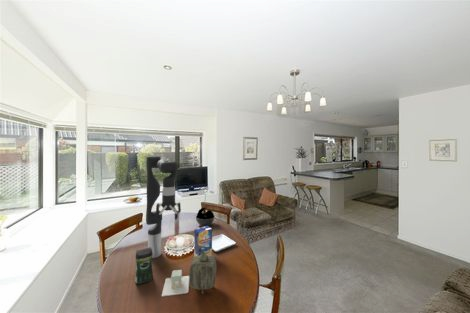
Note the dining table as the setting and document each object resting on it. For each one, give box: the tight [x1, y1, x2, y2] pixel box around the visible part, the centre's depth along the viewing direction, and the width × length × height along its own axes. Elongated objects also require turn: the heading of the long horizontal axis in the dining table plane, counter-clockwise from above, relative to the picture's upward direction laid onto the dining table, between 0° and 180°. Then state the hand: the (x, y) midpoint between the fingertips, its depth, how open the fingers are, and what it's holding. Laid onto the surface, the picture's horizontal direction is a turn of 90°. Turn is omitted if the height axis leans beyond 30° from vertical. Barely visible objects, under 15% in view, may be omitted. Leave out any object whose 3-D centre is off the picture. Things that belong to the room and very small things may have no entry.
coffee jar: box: [134, 247, 154, 285], centre depth 110 cm, size 10×8×19 cm
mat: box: [161, 275, 190, 298], centre depth 105 cm, size 14×14×1 cm
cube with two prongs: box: [170, 269, 183, 289], centre depth 105 cm, size 5×5×7 cm
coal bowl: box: [195, 207, 216, 227], centre depth 194 cm, size 20×20×19 cm
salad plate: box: [212, 233, 236, 253], centre depth 153 cm, size 21×21×3 cm
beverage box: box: [193, 225, 213, 258], centre depth 132 cm, size 7×11×22 cm, turn 129°
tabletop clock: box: [188, 247, 218, 295], centre depth 101 cm, size 14×9×25 cm, turn 92°
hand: (168, 219), depth 111 cm, fingers open, 8 cm apart
